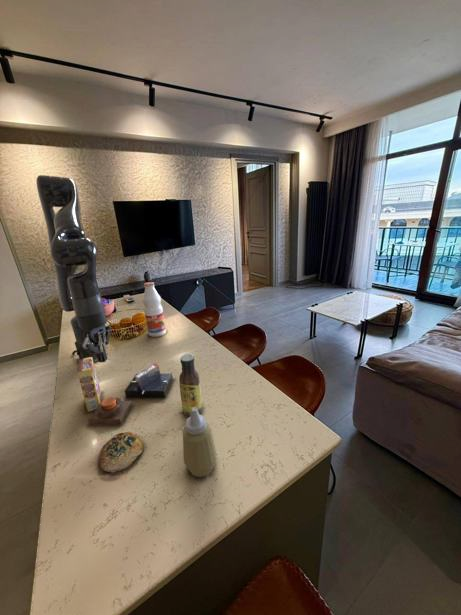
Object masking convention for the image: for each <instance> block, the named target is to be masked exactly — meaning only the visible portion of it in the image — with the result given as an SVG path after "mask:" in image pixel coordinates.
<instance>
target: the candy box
mask: <svg viewBox="0 0 461 615" xmlns="http://www.w3.org/2000/svg"><path fill="white" fill-rule="evenodd" d="M76 372H77V377H78V380H79V384H80V389H81V391H82V395H83V399H84V402H85V406H86V411H87V412H94V411H95V410H96V409H97V407H98V406H99V405H100V403H101V402H102V392H101V388H100V383H99V379H98V375H97V371H96V367H95V364H94V362H93V359H92V357H89V358H85V359H81V360H80V359H79V360H78V367H77V371H76Z"/></svg>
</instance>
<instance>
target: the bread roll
mask: <svg viewBox="0 0 461 615" xmlns="http://www.w3.org/2000/svg"><path fill="white" fill-rule="evenodd" d="M143 450H144V443H143V441H142V439H141V438H140V437H139V435H137V433H134V432H131V431H122V432H119V433H117V434H115V435H113V436H112V437H111V438H110V439H109V440H107V441H106V442H105V444H103V446H102V448H101V449H100V452H99V457H98V458H99V459H98V463H99V466H100V468H101V469H102V471H104V472H105V473H106V472H107V473H112V474H114V473H115V472H119V471H121V470H124V469H127V468H128V467H130V466H131V465H132V464H133V462H134V461H135V460H136V459H137V458H138V456H139V455H141V454H142V452H143Z"/></svg>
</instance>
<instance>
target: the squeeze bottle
mask: <svg viewBox="0 0 461 615" xmlns="http://www.w3.org/2000/svg"><path fill="white" fill-rule="evenodd" d="M182 447H183V448H182V449H183V450H182V452H183V464H184V465H185V467H186V468H187V469H188V471H189V472H190V473H191V475H192V476H194V477H195V478H196V477H197V478H203V477H206V476H208V475H209V474H210V473H211V472H212V470H213V469H214V465H215V462H216V460H217V449H216V445H215V441H214V437H213V432H212V428H211V425H210V423H209V422H207V420H206V418H205V416H204V415H202V414H200V413H198V411H197V408H196V407H193V408H192V409H191V416H188V418H187V419H186V421H185V427H183V431H182Z"/></svg>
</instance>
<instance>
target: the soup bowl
mask: <svg viewBox="0 0 461 615" xmlns="http://www.w3.org/2000/svg"><path fill="white" fill-rule="evenodd" d="M101 298H102V301H103V305H104V309H105V313H106V317H107V316H110V315H111V314H112V313H113V312H114V310H115V300H114V299H111V298H110V299H109V298H108V299H106V298H105V297H101Z"/></svg>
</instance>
